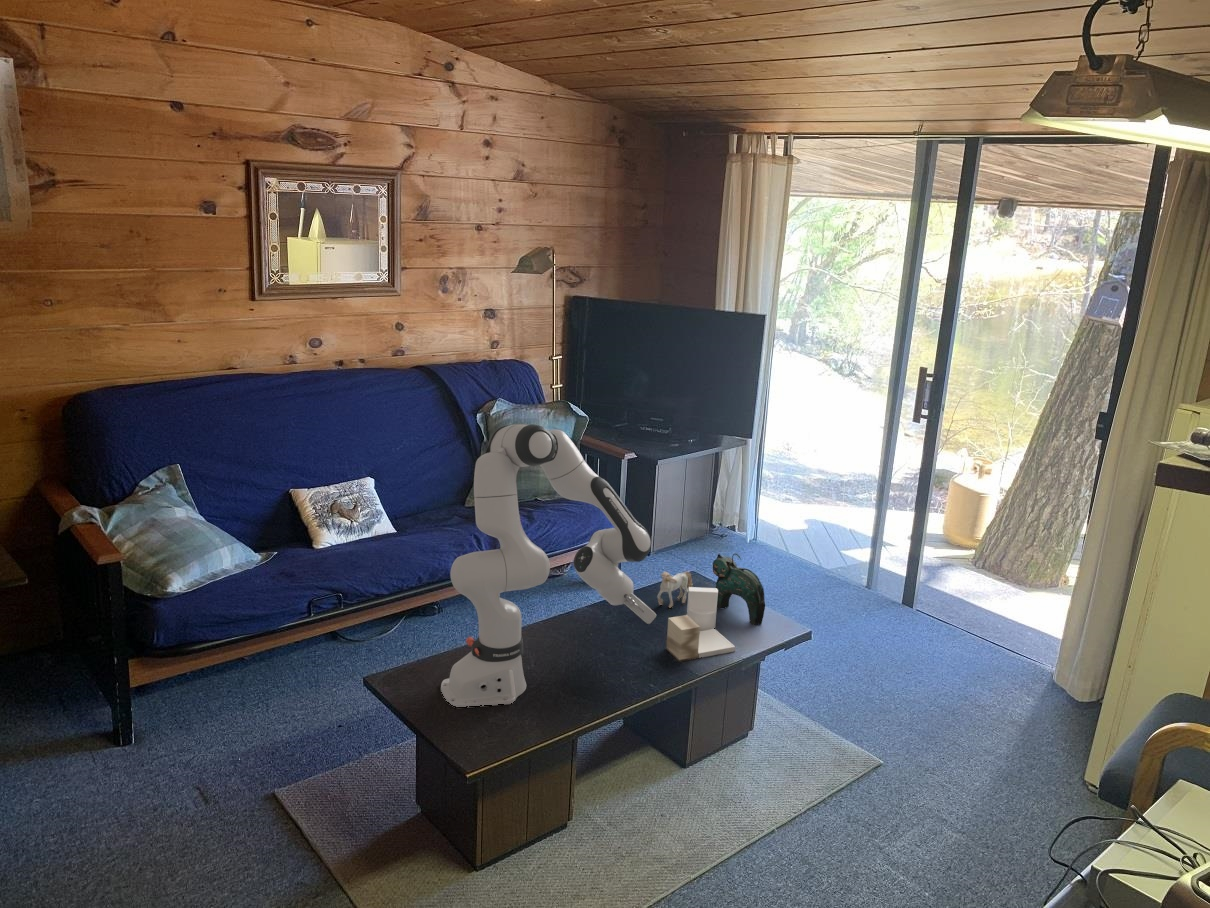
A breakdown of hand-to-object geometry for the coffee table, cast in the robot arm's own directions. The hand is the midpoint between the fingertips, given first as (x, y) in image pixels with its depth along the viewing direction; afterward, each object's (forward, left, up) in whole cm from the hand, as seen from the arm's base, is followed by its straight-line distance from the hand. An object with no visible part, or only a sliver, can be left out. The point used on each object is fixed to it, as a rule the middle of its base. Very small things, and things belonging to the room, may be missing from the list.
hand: (646, 614), depth 272 cm
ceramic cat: (+40, +14, -13) cm, 44 cm away
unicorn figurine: (+24, +24, -13) cm, 36 cm away
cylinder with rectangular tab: (+25, +11, -13) cm, 30 cm away
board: (+20, -1, -13) cm, 24 cm away
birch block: (+11, -3, -13) cm, 17 cm away
